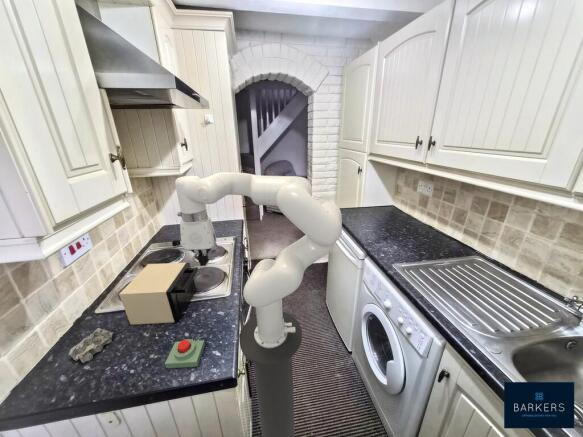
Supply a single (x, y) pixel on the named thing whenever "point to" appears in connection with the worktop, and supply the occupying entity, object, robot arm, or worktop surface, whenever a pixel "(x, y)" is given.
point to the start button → (184, 346)
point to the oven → (150, 294)
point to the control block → (185, 355)
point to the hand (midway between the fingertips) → (204, 263)
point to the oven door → (181, 291)
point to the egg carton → (91, 345)
